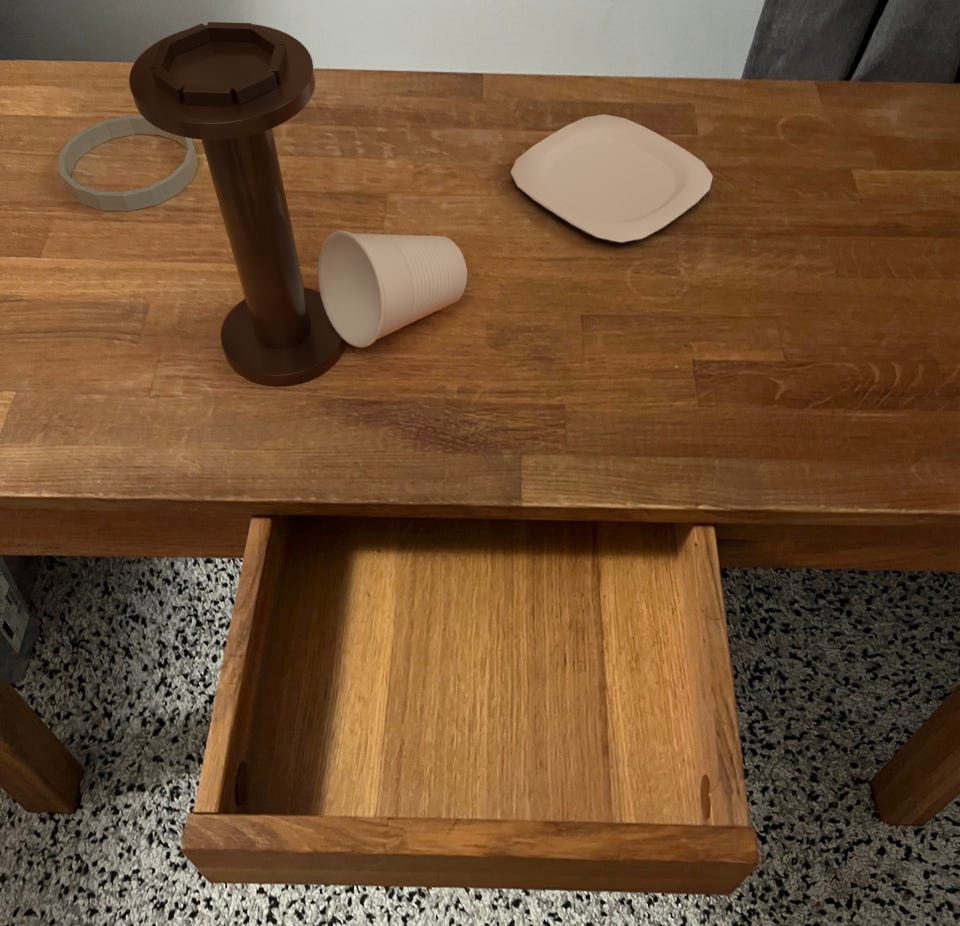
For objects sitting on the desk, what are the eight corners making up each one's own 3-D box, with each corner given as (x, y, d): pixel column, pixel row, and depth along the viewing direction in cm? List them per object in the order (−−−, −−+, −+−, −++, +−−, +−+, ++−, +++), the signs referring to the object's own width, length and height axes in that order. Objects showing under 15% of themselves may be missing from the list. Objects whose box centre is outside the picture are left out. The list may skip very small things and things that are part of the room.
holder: (271, 413, 74) (191, 133, 52) (192, 338, 79) (88, 52, 57) (379, 342, 79) (348, 59, 57) (298, 275, 84) (241, -10, 62)
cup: (454, 343, 83) (357, 370, 77) (403, 263, 85) (305, 282, 79) (499, 276, 75) (396, 300, 69) (442, 190, 78) (337, 205, 71)
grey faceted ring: (108, 229, 87) (101, 213, 86) (41, 167, 93) (34, 151, 91) (222, 171, 93) (218, 155, 91) (153, 116, 98) (147, 100, 97)
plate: (489, 183, 93) (490, 169, 91) (600, 115, 100) (602, 101, 99) (620, 268, 85) (623, 255, 84) (729, 187, 93) (733, 174, 92)
